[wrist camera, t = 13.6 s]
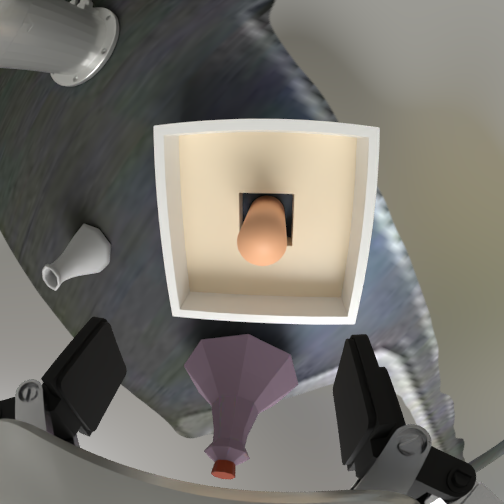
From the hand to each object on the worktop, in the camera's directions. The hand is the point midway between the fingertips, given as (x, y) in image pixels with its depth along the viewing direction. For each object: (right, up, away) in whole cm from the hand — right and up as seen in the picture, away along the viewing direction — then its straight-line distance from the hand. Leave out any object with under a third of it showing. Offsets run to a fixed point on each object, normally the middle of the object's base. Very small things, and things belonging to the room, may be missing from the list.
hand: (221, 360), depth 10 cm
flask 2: (0, -12, +30) cm, 33 cm away
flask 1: (-22, +5, +26) cm, 34 cm away
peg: (+3, +9, +22) cm, 23 cm away
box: (+3, +8, +22) cm, 23 cm away
